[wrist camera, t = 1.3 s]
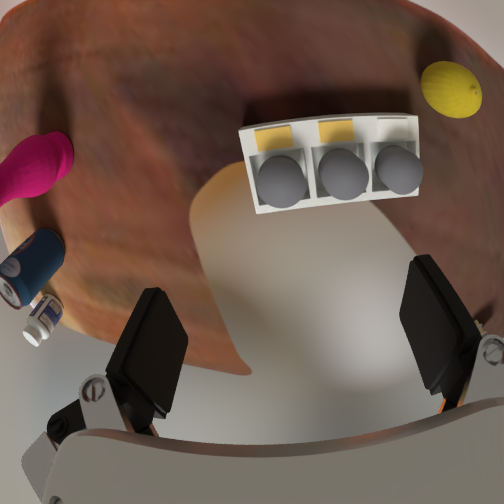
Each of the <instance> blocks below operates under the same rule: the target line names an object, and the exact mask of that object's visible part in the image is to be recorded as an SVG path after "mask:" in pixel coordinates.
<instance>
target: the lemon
mask: <svg viewBox="0 0 504 504" xmlns="http://www.w3.org/2000/svg"><path fill="white" fill-rule="evenodd" d="M421 90H422V93H423V95H424V97H425V99H426V101H427V102H428V103H429V105H430V106H431V107H433V108H434V109H435V110H436V111H438V112H439V113H441V114H443V115H445V116H448V117H453V118H464V117H469V116H471V115H473V114H475V113H476V112H477V110H478V109H479V107H480V105H481V101H482V92H481V88H480V85H479V83H478V81H477V79H476V78H475V76H474V75H473V74H472V73H471V72H470V71H469V70H468V69H466V68H465V67H463V66H461V65H459V64H457V63H453V62H447V61H440V62H435V63H432V64H431V65H429V66H428V67H427V68H426V69H425V70H424V72H423V73H422V76H421Z"/></svg>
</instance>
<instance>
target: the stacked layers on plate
mask: <svg viewBox="0 0 504 504" xmlns="http://www.w3.org/2000/svg"><path fill="white" fill-rule="evenodd" d="M474 322H475V324H476V326H477V328H478V329H479V331H480V333H481V336H482V338H484V337H485V336H487V332H486V331H485V332H484V331H483V326H482V324H479V322H478V320H475V321H474Z"/></svg>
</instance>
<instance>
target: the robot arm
mask: <svg viewBox="0 0 504 504" xmlns="http://www.w3.org/2000/svg"><path fill="white" fill-rule="evenodd" d="M399 316H400V321H401V323H402V326H403V328H404V330H405V333H406V336H407V338H408V341H409V343H410V346H411V348H412V351H413V354H414V357H415V359H416V362H417V365H418V368H419V371H420V374H421V377H422V380H423V383H424V386H425V388H426V389H429V390H430V393H431V395H434V394H437V393H440V392H442V394H443V398H444V399H443V402H442V404H441V407H440V409H439V412H438V414H437V415H434V416H431V417H428V418H425V419H422V420H418V421H415V422H411V423H408V424H404V425H401V426H397V427H393V428H390V429H385V430H381V431H377V432H372V433H367V434H362V435H357V436H352V437H346V438H339V439H332V440H325V441H316V442H307V443H295V444H278V445H277V444H276V445H233V444H214V443H201V442H192V441H183V440H175V439H168V438H162V437H159V435H158V433H157V431H156V430H155V428H154V426H153V424H152V420H153V417H154V418H161V419H165V418H166V414H167V413H169V412H170V410H171V407H172V403H173V399H174V395H175V391H176V387H177V382H178V379H179V375H180V371H181V367H182V364H183V360H184V356H185V353H186V349H187V345H188V336H187V334H186V332H185V330H184V328H183V326H182V324H181V322H180V320H179V318H178V316H177V315H176V313H175V311H174V309H173V307H172V305H171V303H170V301H169V299H168V297H167V294H166V293H165V291H162V290H161V289H160V288H158V287H156V288H146V289H145V290H144V291H143V293H142V295H141V297H140V298H139V300H138V302H137V304H136V306H135V308H134V310H133V312H132V314H131V316H130V318H129V320H128V322H127V324H126V326H125V328H124V330H123V333H122V335H121V337H120V339H119V341H118V343H117V345H116V347H115V350H114V352H113V354H112V356H111V359H110V361H109V363H108V365H107V368H106V370H105V371H106V372H107V374H106V376H104V375H101V374H94V375H92V376H90V377H88V378H87V379H86V380H85V381H84V382H83V383H82V385H81V387H80V389H79V399H77V400H76V401H74V402H73V403H71V404H70V405H68V406H66V407H65V408H63V409H61V410H60V411H58V412H56V413H55V414H53V415H52V416H51V418H50V419H49V421H48V424H47V433H46V432H43V433H42V434H41V435H40V437H39V438H38V439H37V440H36V441H35V442H34V443H33V444H32V445H31V446H30V447H29V449H28V450H27V451H26V452H25V453H24V455H23V456H22V468H23V470H24V472H25V474H26V476H27V478H28V480H29V482H30V484H31V485H32V487H33V489H34V491H35V492H36V494H37V496H38V497H39V499H40V501H41V502H42V504H504V340H503V338H501V337H499V336H497V335H487V336H485V337H484V338H482V336H481V333H480V331H479V329H478V328H477V326H476V324H475V322H474V321H473V319H472V317H471V315H470V314H469V312H468V310H467V309H466V307H465V306H464V304H463V302H462V301H461V299H460V298H459V296H458V294H457V293H456V291H455V290H454V288H453V287H452V285H451V284H450V282H449V281H448V279H447V278H446V277H445V275H444V274H443V272H442V271H441V269H440V268H439V267H438V265H437V264H436V263H435V261H434V260H433V259H432V257H431V256H430V255H429V254H425V255H419V256H415V257H414V259H413V261H411V262H410V264H409V270H408V275H407V280H406V285H405V290H404V294H403V299H402V304H401V307H400V312H399Z"/></svg>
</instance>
